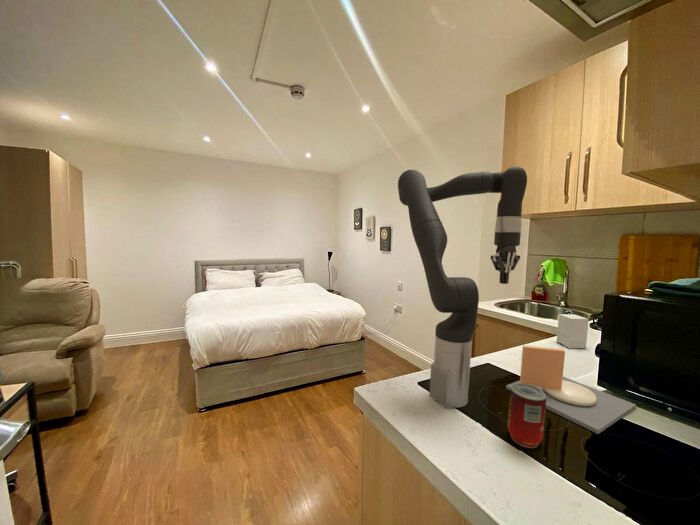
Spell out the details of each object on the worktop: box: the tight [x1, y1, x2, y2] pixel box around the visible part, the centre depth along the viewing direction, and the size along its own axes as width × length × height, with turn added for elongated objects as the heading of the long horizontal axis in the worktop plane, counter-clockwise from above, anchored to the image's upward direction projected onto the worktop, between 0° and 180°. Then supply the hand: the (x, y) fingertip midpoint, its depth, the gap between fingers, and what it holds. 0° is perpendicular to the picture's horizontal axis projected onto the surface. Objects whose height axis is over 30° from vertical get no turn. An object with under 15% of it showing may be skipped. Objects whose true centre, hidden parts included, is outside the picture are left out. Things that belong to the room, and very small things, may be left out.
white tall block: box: [556, 313, 590, 349], centre depth 121 cm, size 7×7×13 cm
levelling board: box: [505, 376, 637, 435], centre depth 81 cm, size 24×22×3 cm
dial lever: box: [519, 345, 596, 406], centre depth 81 cm, size 18×12×12 cm, turn 77°
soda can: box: [507, 383, 546, 449], centre depth 63 cm, size 7×7×12 cm
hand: (503, 283), depth 96 cm, fingers closed
